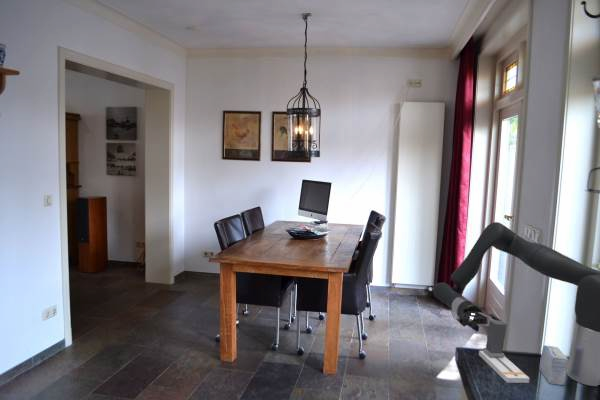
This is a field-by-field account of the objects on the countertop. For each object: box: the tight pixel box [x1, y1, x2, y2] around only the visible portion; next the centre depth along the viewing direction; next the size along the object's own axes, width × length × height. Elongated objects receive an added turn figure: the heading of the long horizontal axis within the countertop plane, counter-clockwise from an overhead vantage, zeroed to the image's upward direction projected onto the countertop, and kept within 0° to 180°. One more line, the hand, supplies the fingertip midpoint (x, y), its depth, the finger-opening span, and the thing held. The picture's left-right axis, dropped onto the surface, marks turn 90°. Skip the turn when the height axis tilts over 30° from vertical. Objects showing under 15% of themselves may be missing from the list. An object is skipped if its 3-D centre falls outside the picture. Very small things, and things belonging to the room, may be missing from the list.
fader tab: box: [482, 320, 508, 357], centre depth 136 cm, size 5×4×11 cm
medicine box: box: [539, 345, 569, 386], centre depth 128 cm, size 8×4×9 cm, turn 168°
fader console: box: [478, 350, 530, 384], centre depth 132 cm, size 7×16×2 cm, turn 6°
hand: (490, 329), depth 140 cm, fingers open, 8 cm apart
